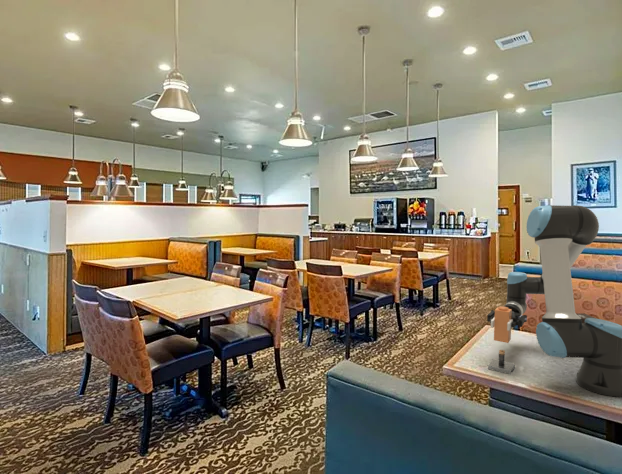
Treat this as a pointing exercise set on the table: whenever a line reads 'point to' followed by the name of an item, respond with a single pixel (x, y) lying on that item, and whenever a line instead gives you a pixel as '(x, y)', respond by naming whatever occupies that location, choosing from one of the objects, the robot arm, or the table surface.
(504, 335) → the orange capped block
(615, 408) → the table surface
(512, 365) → the junction plate
